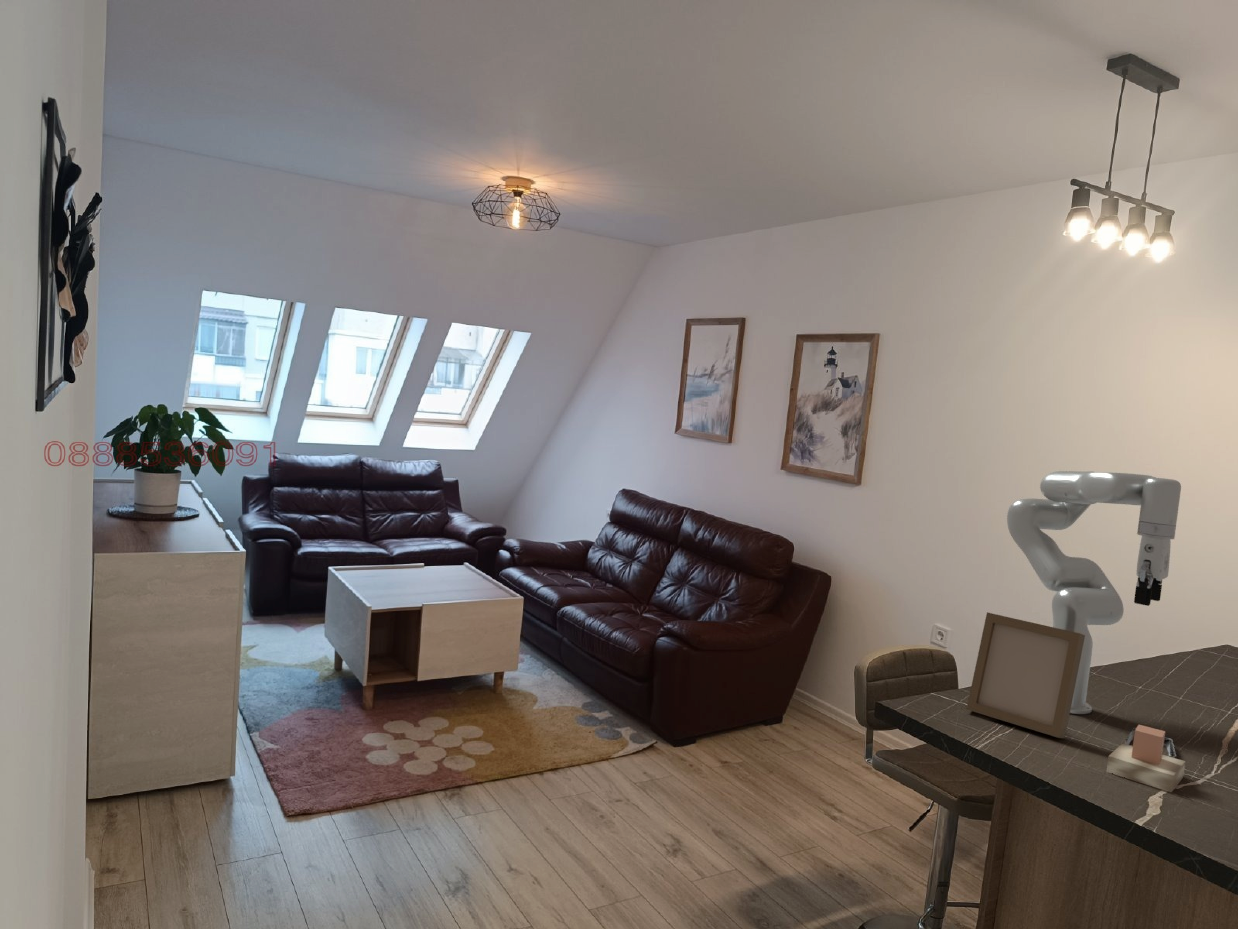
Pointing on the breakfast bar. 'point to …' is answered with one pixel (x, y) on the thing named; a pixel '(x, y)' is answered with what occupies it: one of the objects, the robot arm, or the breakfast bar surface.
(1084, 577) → the robot arm
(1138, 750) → the terracotta block
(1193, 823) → the breakfast bar surface
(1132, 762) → the birch block
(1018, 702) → the photo frame
